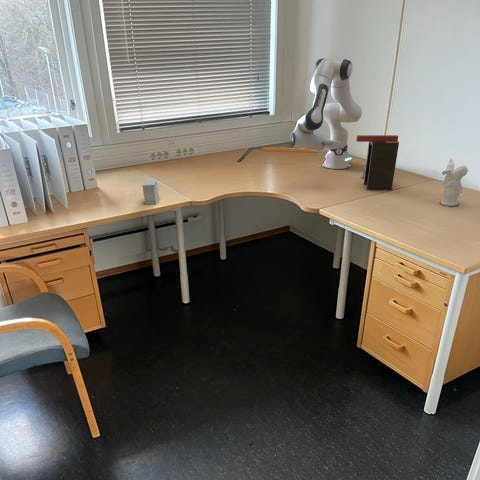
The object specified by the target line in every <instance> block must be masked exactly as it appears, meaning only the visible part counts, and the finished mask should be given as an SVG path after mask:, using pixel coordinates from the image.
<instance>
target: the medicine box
mask: <svg viewBox="0 0 480 480" xmlns="http://www.w3.org/2000/svg"><path fill="white" fill-rule="evenodd" d="M365 170H366V163H364V164H363V167H362V176H361V179H363V180H364V178H365Z"/></svg>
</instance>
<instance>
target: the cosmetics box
mask: <svg viewBox="0 0 480 480" xmlns="http://www.w3.org/2000/svg"><path fill="white" fill-rule="evenodd" d="M158 185H159V184H158V179H146V180H145V181H144V183H143V184H142V192H143V200H144V204H145V205H157V203H158V201H159V200H160V192H159V186H158Z"/></svg>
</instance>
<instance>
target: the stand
mask: <svg viewBox="0 0 480 480" xmlns="http://www.w3.org/2000/svg"><path fill="white" fill-rule="evenodd" d="M399 145H400V142H399V141H398V142H368V146H367V155H366V163H365V164H366V170H365V178H364V179H363V185H364V186H366V190H367V191H392V190H393V184H394V177H395V171H396V165H397V159H398V152H399Z"/></svg>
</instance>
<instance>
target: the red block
mask: <svg viewBox="0 0 480 480" xmlns="http://www.w3.org/2000/svg"><path fill="white" fill-rule="evenodd" d="M355 137H356V138H355V141H356V142H358V143H367V142H368V143H369V142H399V135H398V134H391V135H390V134H385V135H383V134H377V135H376V134H368V135H367V134H364V135H363V134H361V135H360V134H357V135H356V136H355Z"/></svg>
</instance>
